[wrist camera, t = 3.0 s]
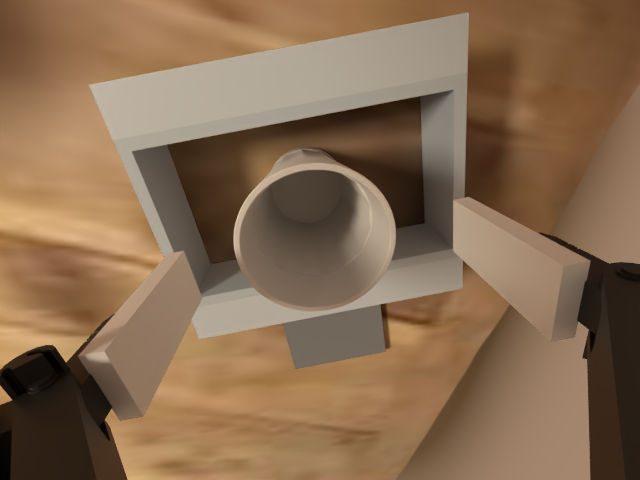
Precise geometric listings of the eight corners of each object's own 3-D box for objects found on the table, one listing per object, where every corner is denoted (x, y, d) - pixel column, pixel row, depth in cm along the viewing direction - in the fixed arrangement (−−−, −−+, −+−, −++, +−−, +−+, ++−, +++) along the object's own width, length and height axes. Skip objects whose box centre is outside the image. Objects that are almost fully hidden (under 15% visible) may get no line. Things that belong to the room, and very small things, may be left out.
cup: (367, 204, 27) (418, 272, 16) (288, 243, 28) (285, 333, 17) (327, 117, 24) (356, 129, 13) (240, 165, 25) (198, 214, 14)
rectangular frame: (134, 89, 22) (88, 84, 17) (429, 32, 22) (468, 12, 17) (215, 299, 30) (199, 339, 25) (434, 257, 30) (462, 288, 25)
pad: (274, 289, 30) (274, 293, 29) (375, 270, 30) (377, 273, 29) (295, 364, 34) (295, 369, 33) (384, 347, 34) (385, 351, 34)
